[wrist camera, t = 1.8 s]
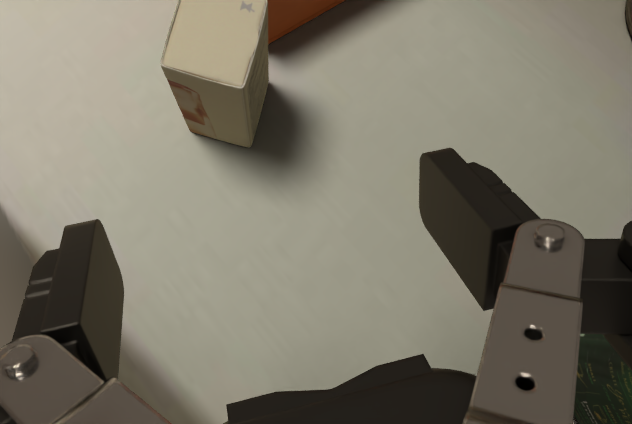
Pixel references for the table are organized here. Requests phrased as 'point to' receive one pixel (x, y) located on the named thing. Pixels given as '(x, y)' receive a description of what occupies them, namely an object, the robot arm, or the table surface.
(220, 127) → the small printed carton
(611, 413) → the coffee jar
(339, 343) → the table surface
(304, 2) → the bin
